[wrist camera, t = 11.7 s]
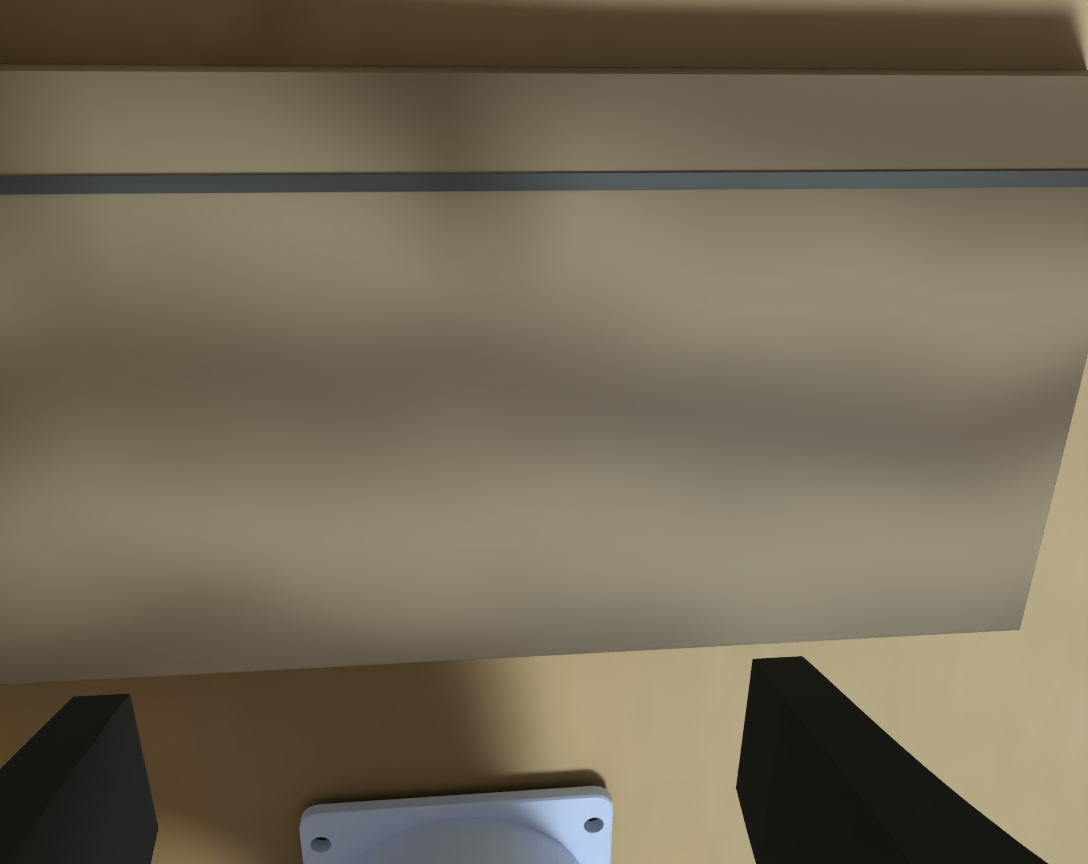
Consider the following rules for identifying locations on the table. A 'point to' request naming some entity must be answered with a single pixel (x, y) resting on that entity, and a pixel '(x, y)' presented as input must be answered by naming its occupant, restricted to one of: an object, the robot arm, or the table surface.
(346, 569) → the board
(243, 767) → the table surface
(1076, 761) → the table surface
